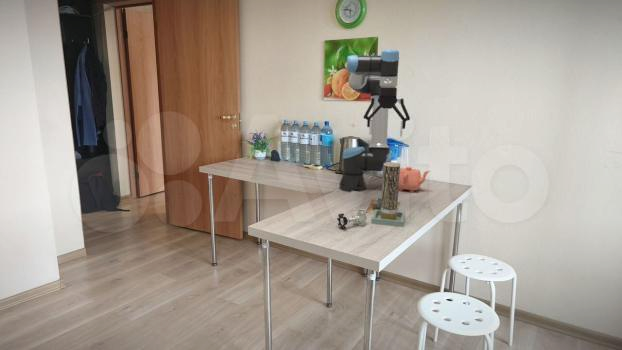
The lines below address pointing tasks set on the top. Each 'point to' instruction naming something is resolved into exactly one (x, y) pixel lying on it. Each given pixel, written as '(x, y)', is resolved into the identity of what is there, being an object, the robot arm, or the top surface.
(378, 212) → the tray
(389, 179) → the log cylinder
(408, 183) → the teapot
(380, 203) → the block
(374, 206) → the walnut plate
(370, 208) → the board
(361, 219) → the valve
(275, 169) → the top surface
